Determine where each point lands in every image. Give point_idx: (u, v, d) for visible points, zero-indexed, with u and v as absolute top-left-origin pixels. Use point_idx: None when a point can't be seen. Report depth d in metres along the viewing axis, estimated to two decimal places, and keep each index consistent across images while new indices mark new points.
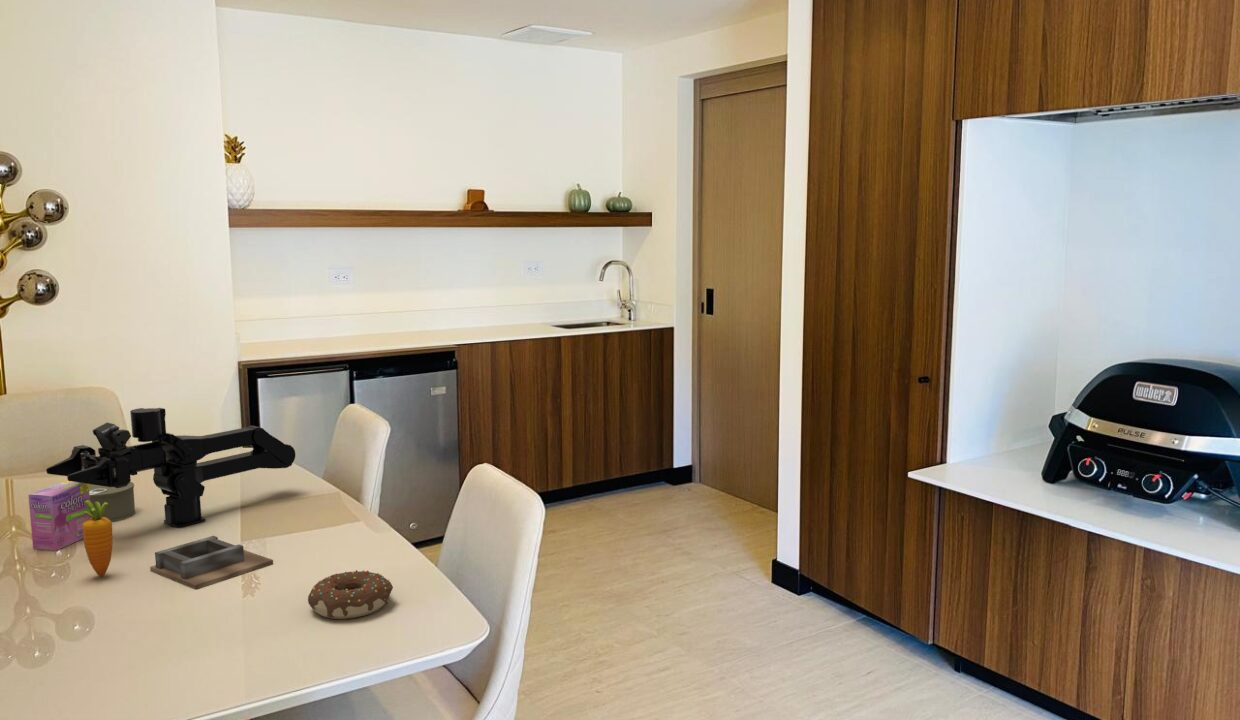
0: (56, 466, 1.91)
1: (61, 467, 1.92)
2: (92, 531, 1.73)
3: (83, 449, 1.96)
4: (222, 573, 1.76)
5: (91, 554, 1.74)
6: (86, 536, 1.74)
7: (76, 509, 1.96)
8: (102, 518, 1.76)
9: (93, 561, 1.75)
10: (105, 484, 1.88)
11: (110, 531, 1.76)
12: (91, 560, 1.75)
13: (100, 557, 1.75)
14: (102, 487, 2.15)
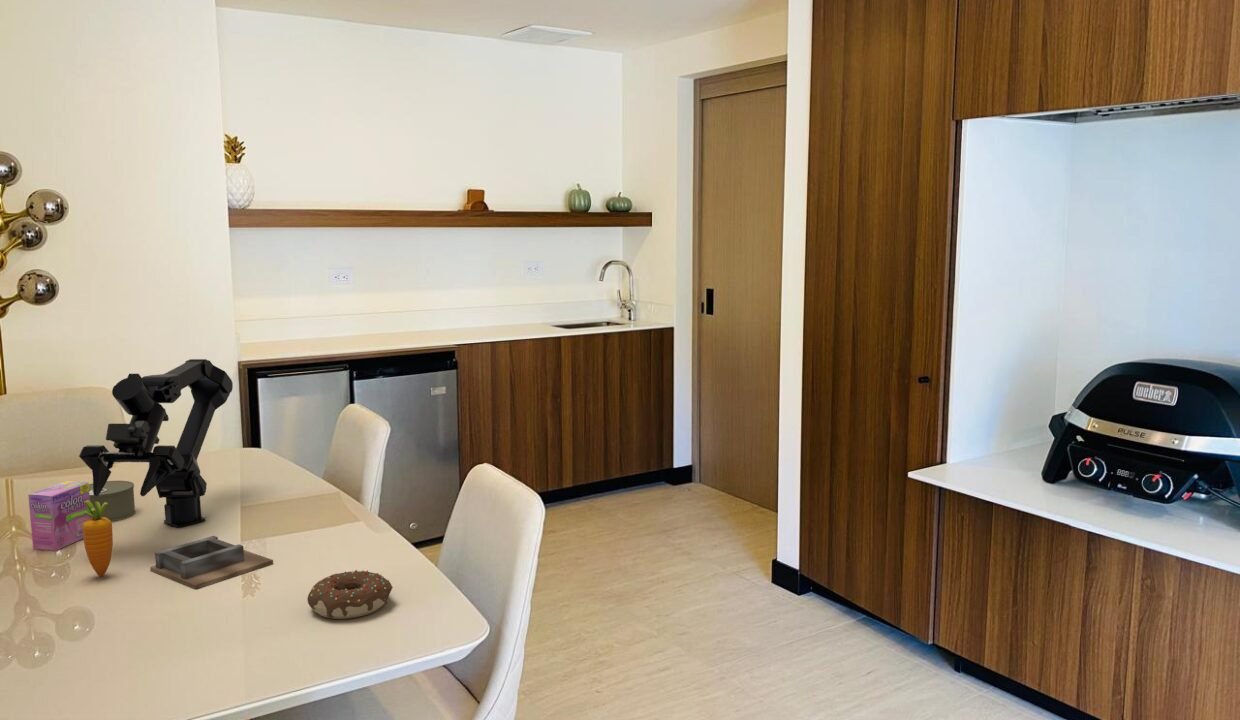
0: (97, 485, 1.84)
1: (99, 482, 1.85)
2: (92, 531, 1.73)
3: (97, 453, 1.86)
4: (222, 573, 1.76)
5: (91, 554, 1.74)
6: (86, 536, 1.74)
7: (76, 508, 1.96)
8: (102, 518, 1.76)
9: (93, 561, 1.75)
10: (166, 474, 1.88)
11: (110, 531, 1.76)
12: (91, 560, 1.75)
13: (100, 557, 1.75)
14: None
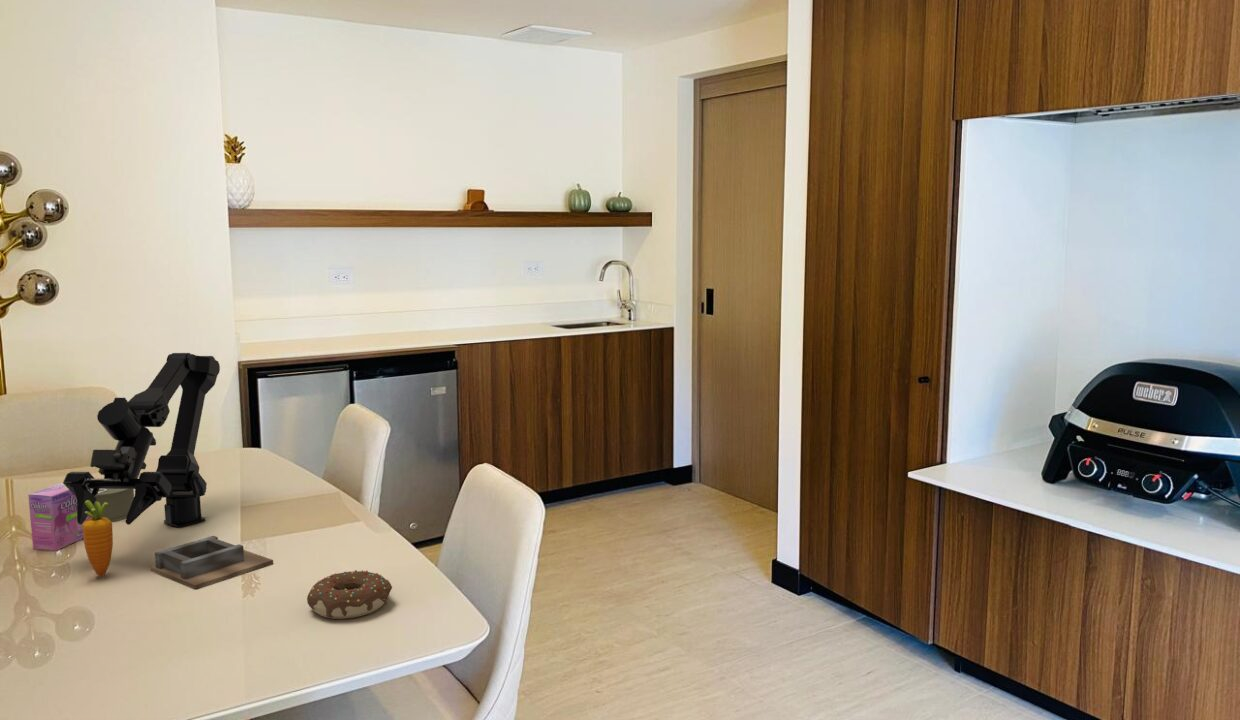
0: (82, 513, 1.78)
1: (84, 509, 1.80)
2: (92, 531, 1.73)
3: (81, 480, 1.80)
4: (222, 573, 1.76)
5: (91, 554, 1.74)
6: (86, 536, 1.74)
7: (76, 508, 1.96)
8: (102, 518, 1.76)
9: (93, 561, 1.75)
10: (153, 501, 1.83)
11: (110, 531, 1.76)
12: (91, 560, 1.75)
13: (100, 557, 1.75)
14: None
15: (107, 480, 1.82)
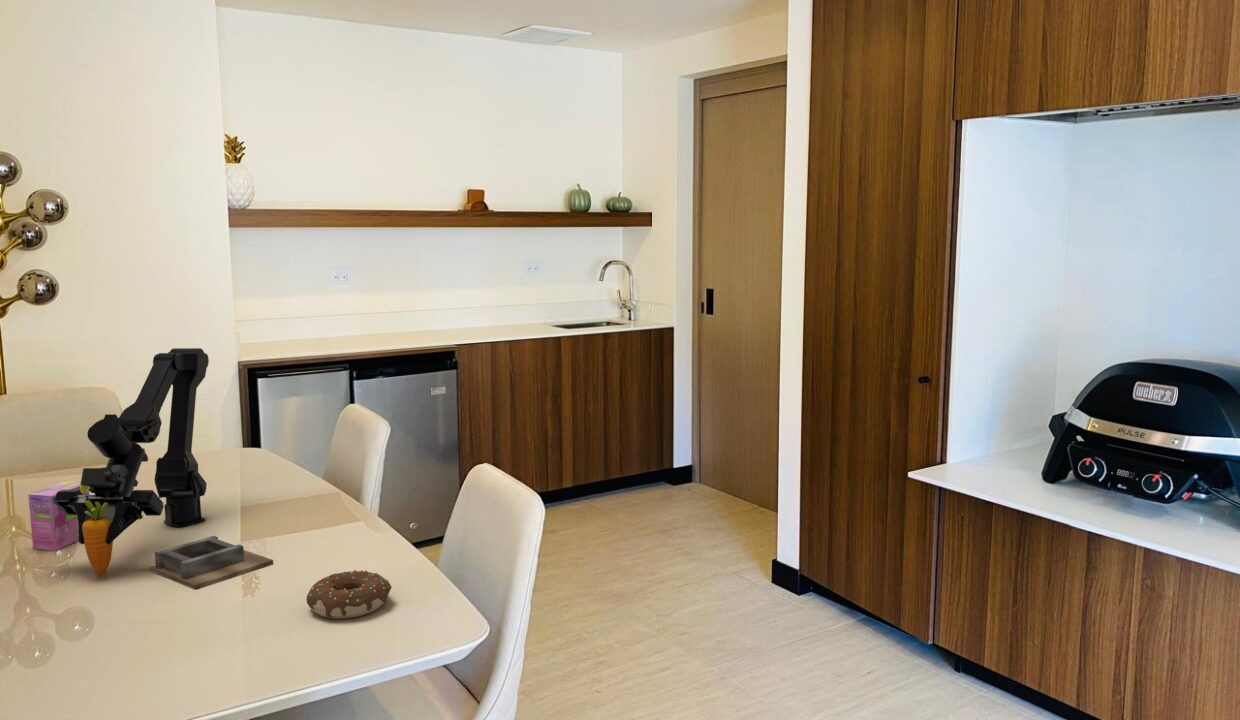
0: None
1: None
2: (92, 531, 1.73)
3: (71, 498, 1.77)
4: (222, 573, 1.76)
5: (91, 554, 1.74)
6: (86, 536, 1.74)
7: None
8: (102, 518, 1.76)
9: (93, 561, 1.75)
10: (134, 519, 1.80)
11: None
12: (91, 560, 1.75)
13: (100, 557, 1.75)
14: None
15: (98, 498, 1.79)
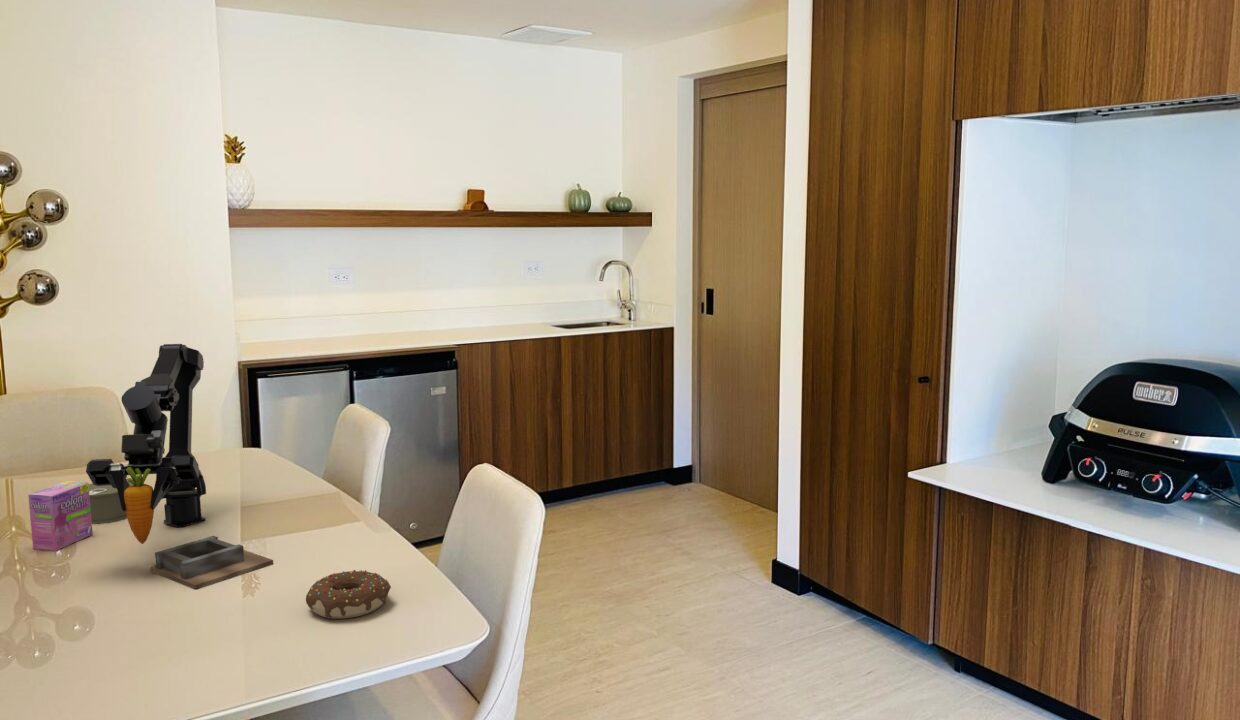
0: (124, 500, 1.75)
1: None
2: (137, 497, 1.74)
3: (106, 467, 1.76)
4: (222, 573, 1.76)
5: (136, 521, 1.74)
6: (131, 502, 1.74)
7: (76, 508, 1.96)
8: (144, 484, 1.76)
9: (137, 528, 1.75)
10: (170, 485, 1.81)
11: None
12: (135, 527, 1.75)
13: (144, 523, 1.75)
14: (102, 487, 2.15)
15: (133, 466, 1.78)
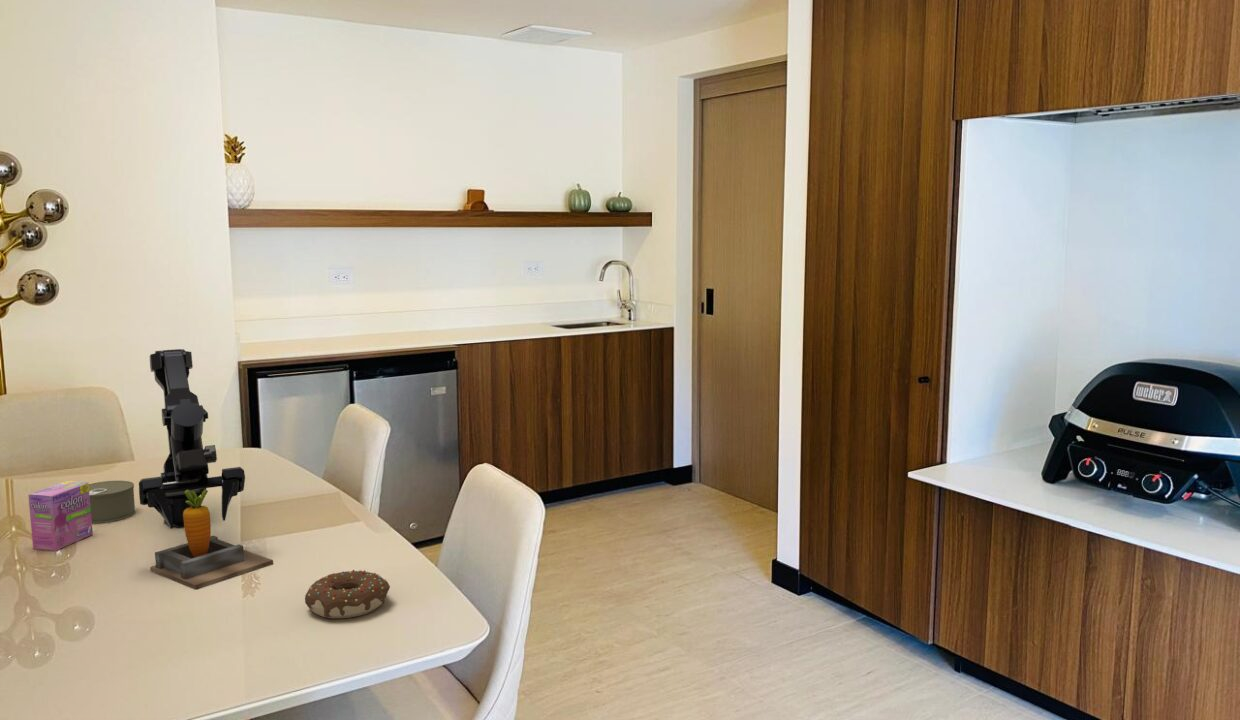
0: (171, 517, 1.77)
1: None
2: (200, 518, 1.78)
3: (160, 484, 1.78)
4: (222, 573, 1.76)
5: (197, 542, 1.79)
6: (193, 524, 1.78)
7: (76, 508, 1.96)
8: (200, 506, 1.81)
9: (199, 548, 1.79)
10: (230, 497, 1.87)
11: None
12: (196, 547, 1.79)
13: (205, 543, 1.80)
14: (102, 487, 2.15)
15: (184, 482, 1.81)
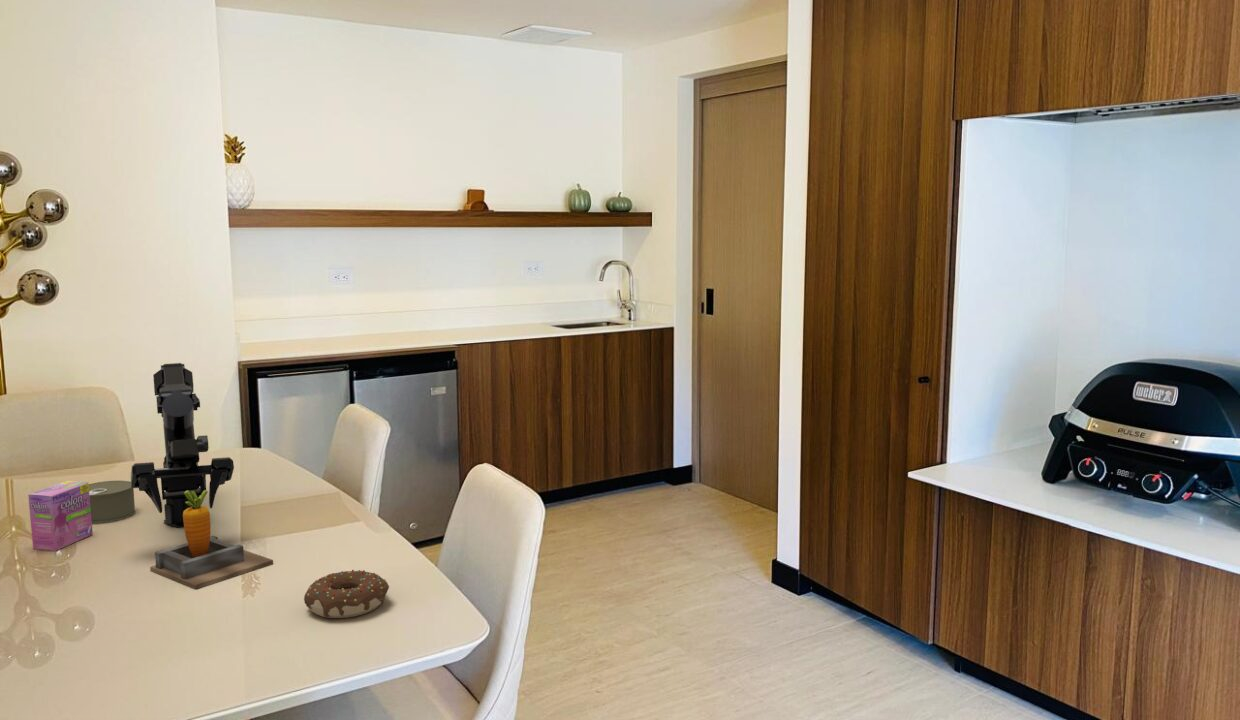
0: (161, 502, 1.85)
1: None
2: (200, 519, 1.78)
3: (152, 470, 1.86)
4: (222, 573, 1.76)
5: (197, 542, 1.79)
6: (193, 525, 1.78)
7: (76, 508, 1.96)
8: (200, 506, 1.80)
9: (198, 549, 1.79)
10: (218, 485, 1.95)
11: None
12: (196, 548, 1.79)
13: (205, 544, 1.80)
14: (102, 487, 2.15)
15: (175, 469, 1.89)
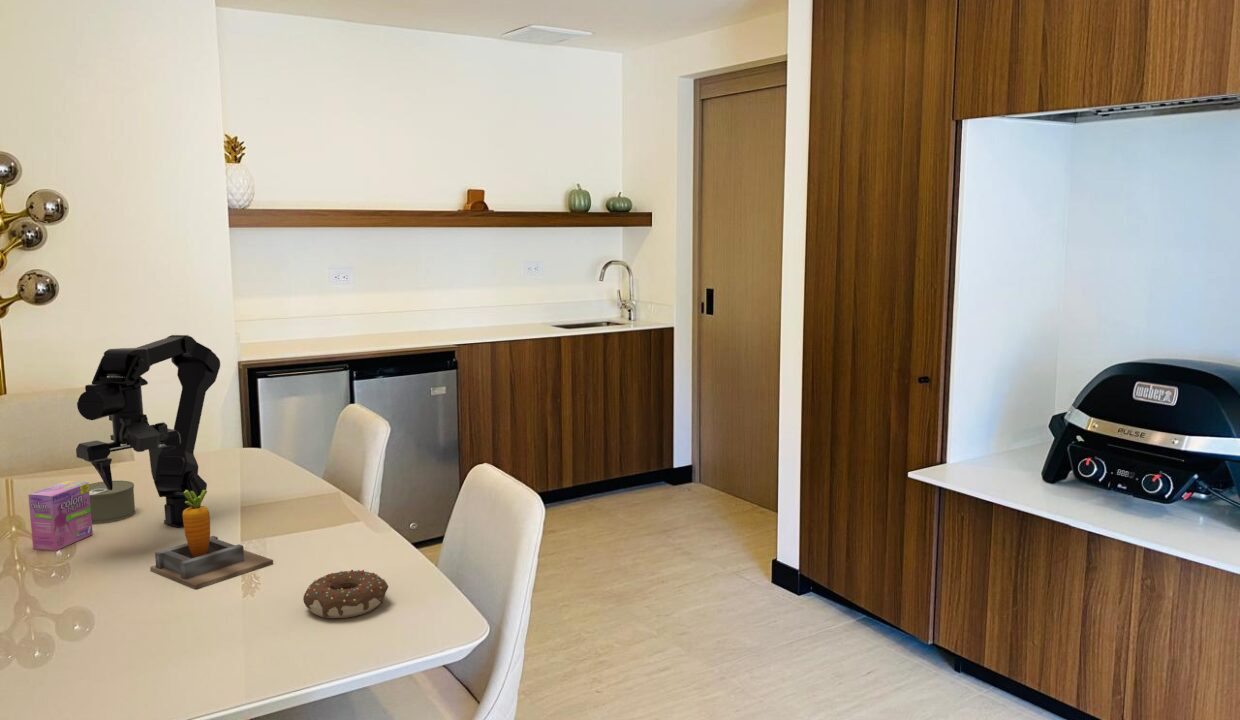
0: None
1: None
2: (199, 518, 1.78)
3: None
4: (222, 573, 1.76)
5: (197, 542, 1.79)
6: (193, 524, 1.78)
7: (76, 508, 1.96)
8: (200, 506, 1.80)
9: (198, 548, 1.79)
10: None
11: None
12: (196, 548, 1.79)
13: (205, 543, 1.80)
14: (102, 487, 2.15)
15: (126, 446, 1.89)
